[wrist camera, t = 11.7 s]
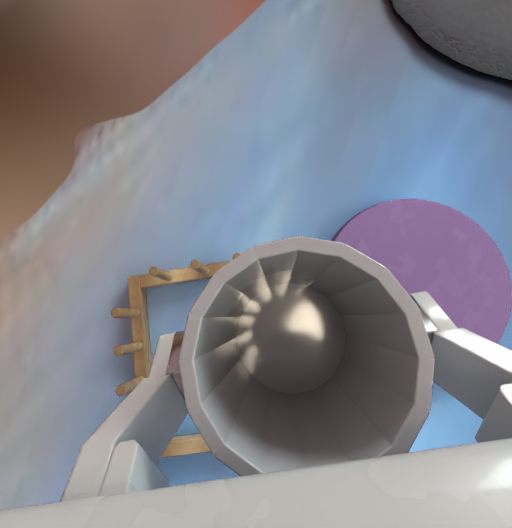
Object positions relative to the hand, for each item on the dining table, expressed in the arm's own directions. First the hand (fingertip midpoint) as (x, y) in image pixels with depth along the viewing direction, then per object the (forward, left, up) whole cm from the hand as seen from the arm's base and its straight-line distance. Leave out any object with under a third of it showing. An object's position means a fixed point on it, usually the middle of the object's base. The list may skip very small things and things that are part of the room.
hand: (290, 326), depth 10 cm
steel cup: (0, -1, -4) cm, 4 cm away
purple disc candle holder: (+11, -4, -18) cm, 22 cm away
